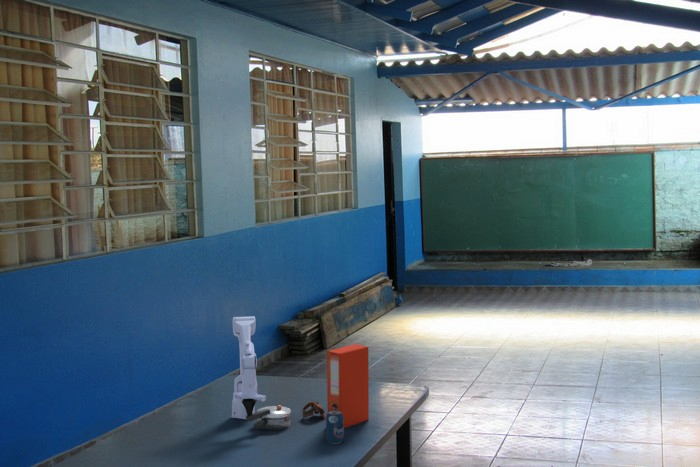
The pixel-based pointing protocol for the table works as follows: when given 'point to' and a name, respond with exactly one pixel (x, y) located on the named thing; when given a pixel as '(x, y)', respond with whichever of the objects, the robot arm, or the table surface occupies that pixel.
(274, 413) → the cooker lid
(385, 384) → the table surface
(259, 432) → the table surface
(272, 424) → the cooker pot
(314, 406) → the pottery mug
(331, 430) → the soda can
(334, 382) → the file binder
